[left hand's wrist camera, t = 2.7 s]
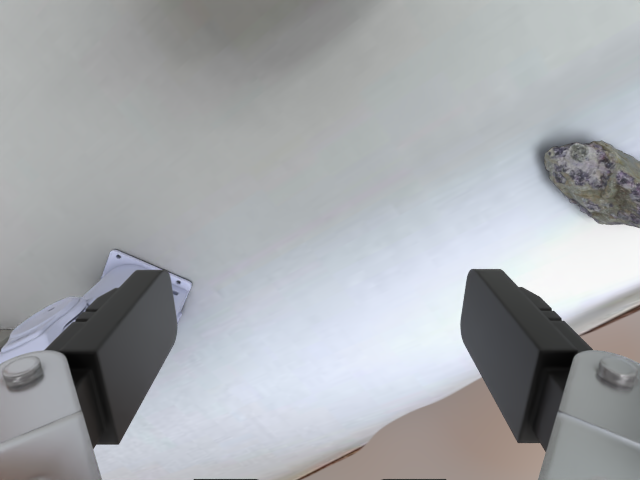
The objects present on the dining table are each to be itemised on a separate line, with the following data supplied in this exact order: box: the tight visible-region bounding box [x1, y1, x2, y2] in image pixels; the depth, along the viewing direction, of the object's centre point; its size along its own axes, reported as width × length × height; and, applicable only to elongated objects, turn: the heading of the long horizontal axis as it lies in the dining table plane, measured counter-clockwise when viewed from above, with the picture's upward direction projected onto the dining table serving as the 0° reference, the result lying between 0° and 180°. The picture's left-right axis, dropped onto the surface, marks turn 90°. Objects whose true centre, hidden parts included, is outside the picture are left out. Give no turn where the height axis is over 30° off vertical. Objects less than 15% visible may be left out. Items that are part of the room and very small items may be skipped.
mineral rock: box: [544, 141, 640, 228], centre depth 38 cm, size 13×11×10 cm
